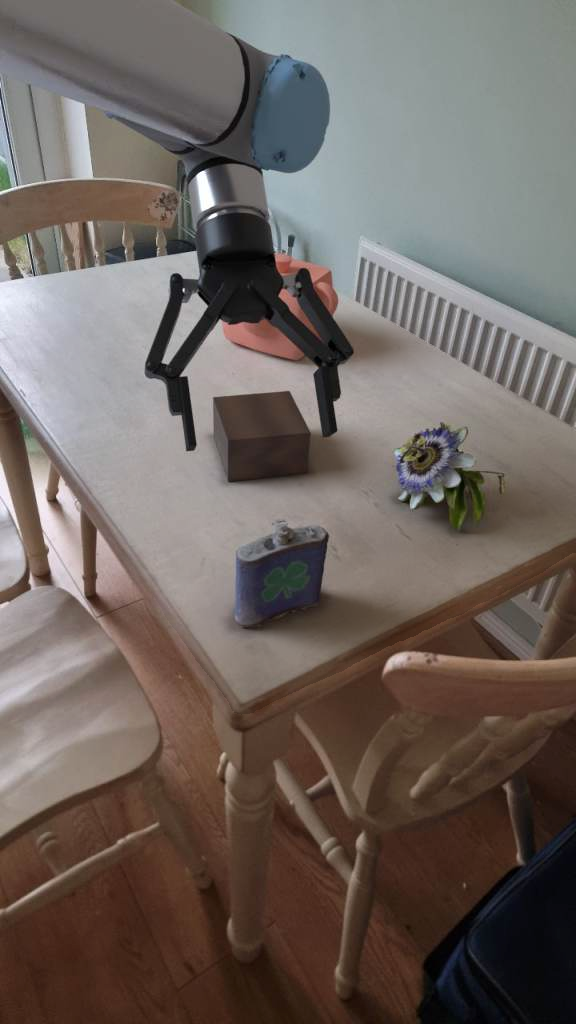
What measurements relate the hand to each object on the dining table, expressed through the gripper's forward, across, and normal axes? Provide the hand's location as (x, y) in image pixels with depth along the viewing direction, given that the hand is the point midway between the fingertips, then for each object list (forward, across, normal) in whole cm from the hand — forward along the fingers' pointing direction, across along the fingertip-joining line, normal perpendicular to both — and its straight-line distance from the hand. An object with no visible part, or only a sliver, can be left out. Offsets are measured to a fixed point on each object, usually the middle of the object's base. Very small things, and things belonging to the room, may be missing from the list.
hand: (262, 441), depth 66 cm
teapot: (-23, -12, -42) cm, 50 cm away
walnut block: (-2, -4, -22) cm, 22 cm away
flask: (+16, 0, -3) cm, 17 cm away
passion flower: (+7, -23, -13) cm, 27 cm away
